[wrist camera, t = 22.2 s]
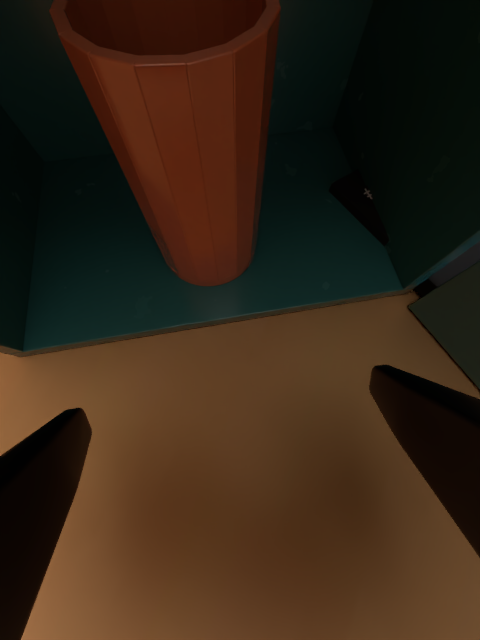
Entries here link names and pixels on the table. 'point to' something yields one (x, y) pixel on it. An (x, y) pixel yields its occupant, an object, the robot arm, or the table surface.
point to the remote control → (363, 209)
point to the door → (455, 318)
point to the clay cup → (183, 116)
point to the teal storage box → (278, 182)
